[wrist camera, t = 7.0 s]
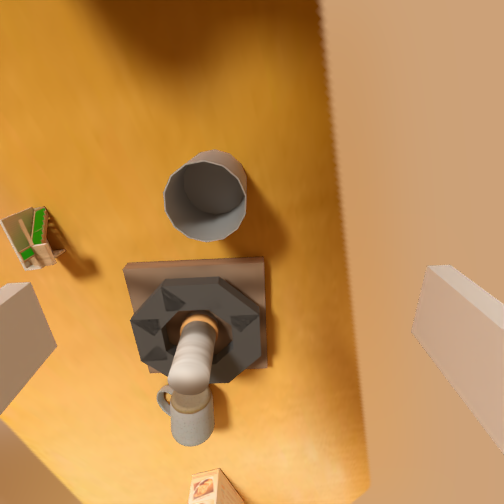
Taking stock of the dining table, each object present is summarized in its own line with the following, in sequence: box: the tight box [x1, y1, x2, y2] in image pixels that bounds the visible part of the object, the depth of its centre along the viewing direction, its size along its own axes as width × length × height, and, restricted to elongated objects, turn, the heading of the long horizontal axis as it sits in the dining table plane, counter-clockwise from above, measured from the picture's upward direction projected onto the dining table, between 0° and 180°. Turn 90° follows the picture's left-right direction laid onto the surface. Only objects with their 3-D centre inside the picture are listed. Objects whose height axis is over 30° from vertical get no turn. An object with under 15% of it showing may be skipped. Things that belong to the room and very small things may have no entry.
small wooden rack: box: [0, 206, 66, 271], centre depth 38 cm, size 4×7×8 cm, turn 8°
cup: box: [163, 150, 247, 242], centre depth 34 cm, size 8×8×10 cm
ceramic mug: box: [157, 385, 215, 446], centre depth 51 cm, size 11×8×8 cm
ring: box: [130, 276, 261, 384], centre depth 43 cm, size 18×18×2 cm
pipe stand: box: [123, 257, 267, 395], centre depth 41 cm, size 20×20×13 cm
